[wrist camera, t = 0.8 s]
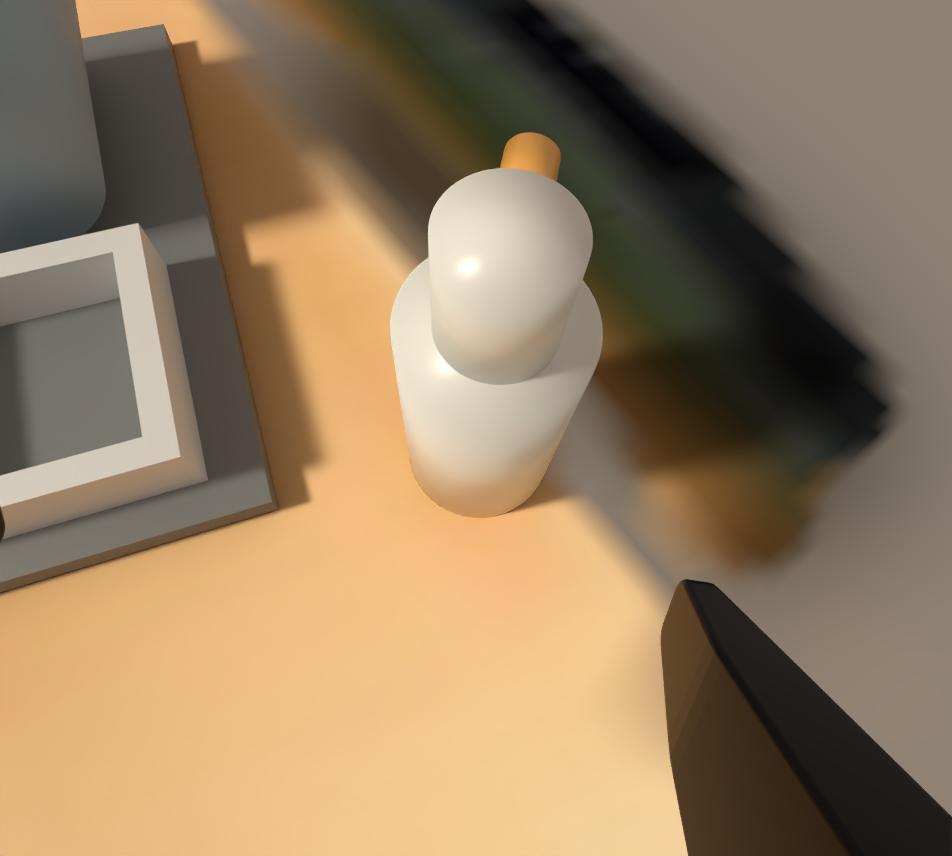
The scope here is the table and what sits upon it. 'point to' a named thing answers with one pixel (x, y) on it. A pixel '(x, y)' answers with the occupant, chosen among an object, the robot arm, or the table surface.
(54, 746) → the table surface
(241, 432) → the tray with square frame
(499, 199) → the white rounded upright piece
